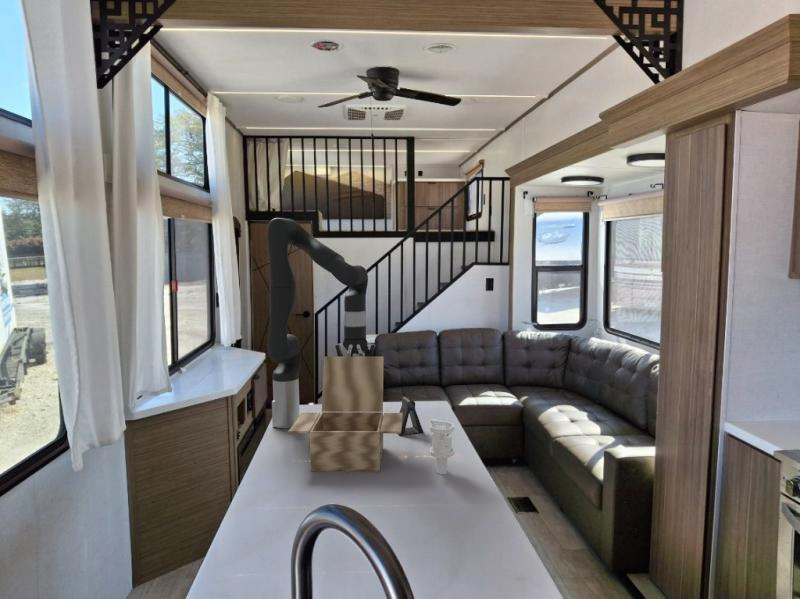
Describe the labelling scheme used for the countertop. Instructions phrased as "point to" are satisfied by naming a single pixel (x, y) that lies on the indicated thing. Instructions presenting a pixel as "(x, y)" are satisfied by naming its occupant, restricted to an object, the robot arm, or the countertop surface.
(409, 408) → the phone stand
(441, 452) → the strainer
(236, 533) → the countertop surface
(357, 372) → the lid flap
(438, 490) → the countertop surface
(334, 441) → the carton
